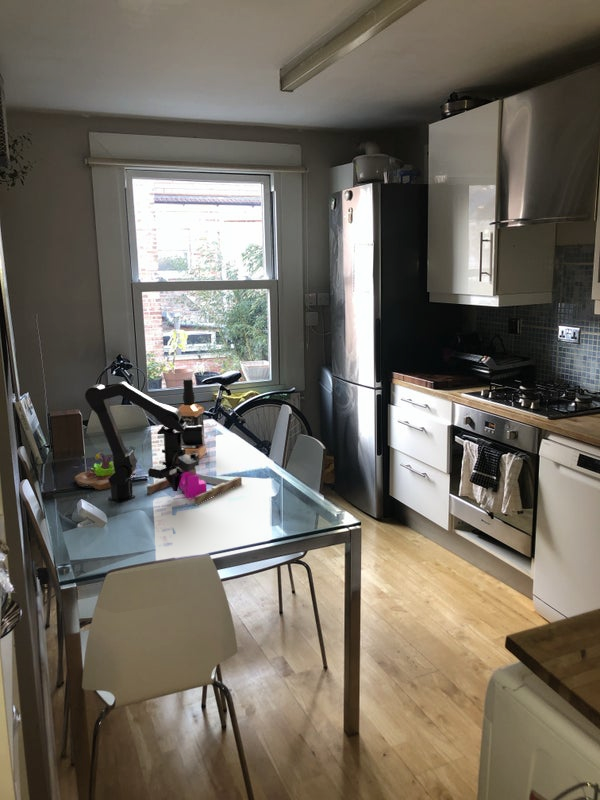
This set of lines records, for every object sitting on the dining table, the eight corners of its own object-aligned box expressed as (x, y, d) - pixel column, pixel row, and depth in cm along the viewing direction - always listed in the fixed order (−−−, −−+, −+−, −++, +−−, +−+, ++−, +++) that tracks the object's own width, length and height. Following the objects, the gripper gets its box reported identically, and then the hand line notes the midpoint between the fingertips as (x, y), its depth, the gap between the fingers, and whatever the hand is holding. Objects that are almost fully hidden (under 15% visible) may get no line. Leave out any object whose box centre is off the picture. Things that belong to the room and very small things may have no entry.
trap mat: (227, 488, 226) (227, 486, 226) (186, 479, 236) (186, 478, 236) (238, 483, 231) (238, 482, 231) (196, 475, 241) (196, 474, 241)
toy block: (206, 496, 218) (205, 474, 217) (188, 498, 216) (187, 477, 215) (195, 483, 232) (195, 463, 231) (178, 485, 230) (177, 465, 228)
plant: (64, 484, 234) (62, 454, 232) (107, 470, 251) (105, 442, 248) (102, 493, 224) (100, 462, 222) (143, 478, 240) (142, 449, 238)
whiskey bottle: (207, 452, 271) (203, 377, 265) (199, 459, 261) (195, 381, 255) (183, 451, 273) (179, 377, 267) (175, 458, 263) (170, 381, 257)
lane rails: (197, 504, 210) (197, 496, 210) (147, 493, 222) (146, 485, 222) (241, 483, 230) (241, 476, 230) (193, 474, 242) (193, 466, 242)
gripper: (171, 456, 203) (173, 503, 205) (210, 443, 218) (211, 487, 221) (145, 451, 208) (148, 497, 211) (185, 439, 224) (187, 482, 227)
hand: (175, 491), depth 217 cm, fingers closed
